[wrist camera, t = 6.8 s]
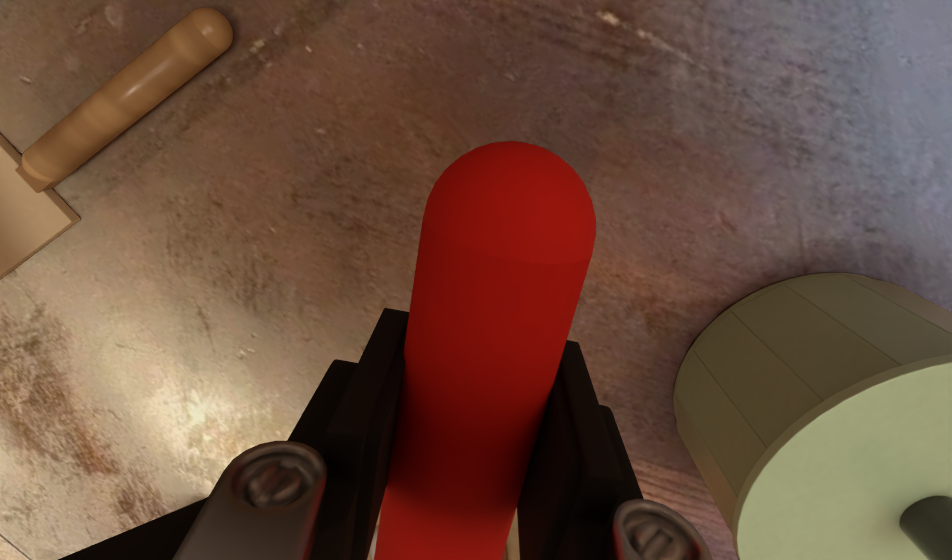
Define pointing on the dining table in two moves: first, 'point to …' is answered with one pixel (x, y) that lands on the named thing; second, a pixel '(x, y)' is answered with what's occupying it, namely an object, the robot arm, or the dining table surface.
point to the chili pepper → (482, 347)
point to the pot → (791, 364)
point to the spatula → (96, 133)
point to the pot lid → (858, 475)
